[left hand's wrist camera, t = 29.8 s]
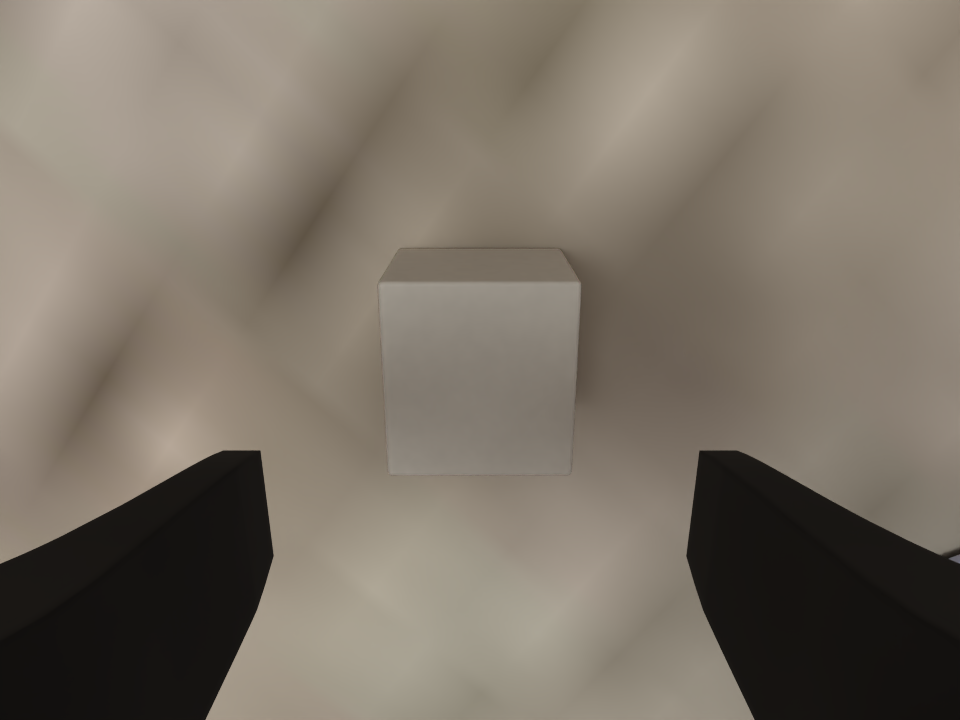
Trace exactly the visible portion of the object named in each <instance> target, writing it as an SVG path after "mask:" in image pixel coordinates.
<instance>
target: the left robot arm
mask: <svg viewBox="0 0 960 720" xmlns="http://www.w3.org/2000/svg"><path fill="white" fill-rule="evenodd" d="M272 560H273V548H272V540H271V532H270V524H269V516H268V508H267V500H266V492H265V484H264V476H263V468H262V460H261V452H260V451H221V452H219V453H216V454H214V455H212V456H210V457H207V458H206V459H204V460H202V461H200V462H198V463H196V464H194V465H192V466H190V467H189V468H187V469H185V470H183V471H181V472H180V473H178V474H176V475H174V476H173V477H171V478H169V479H167V480H166V481H164V482H162V483H160V484H158V485H157V486H155V487H153V488H151V489H150V490H148V491H146V492H144V493H142V494H141V495H139V496H137V497H135V498H134V499H132V500H130V501H128V502H126V503H125V504H123V505H121V506H119V507H117V508H115V509H113V510H111V511H109V512H107V513H106V514H104V515H102V516H100V517H98V518H96V519H94V520H92V521H90V522H88V523H86V524H84V525H82V526H80V527H78V528H77V529H75V530H73V531H71V532H69V533H67V534H65V535H63V536H61V537H59V538H57V539H55V540H53V541H51V542H49V543H46V544H44V545H42V546H40V547H38V548H36V549H33V550H31V551H29V552H27V553H25V554H22V555H20V556H18V557H15V558H13V559H11V560H8V561H6V562H4V563H1V564H0V720H205V719H206V717H207V715H208V713H209V711H210V709H211V707H212V705H213V703H214V700H215V698H216V696H217V694H218V692H219V690H220V688H221V686H222V684H223V682H224V679H225V677H226V675H227V673H228V671H229V669H230V667H231V665H232V663H233V661H234V658H235V656H236V654H237V652H238V650H239V648H240V646H241V643H242V641H243V639H244V637H245V635H246V633H247V631H248V628H249V626H250V624H251V622H252V620H253V617H254V615H255V613H256V611H257V608H258V605H259V602H260V599H261V596H262V593H263V590H264V587H265V583H266V580H267V577H268V573H269V570H270V566H271V563H272ZM687 560H688V563H689V566H690V570H691V573H692V577H693V580H694V583H695V587H696V590H697V593H698V596H699V599H700V602H701V605H702V608H703V611H704V613H705V615H706V617H707V620H708V622H709V624H710V626H711V628H712V631H713V633H714V635H715V637H716V639H717V641H718V643H719V646H720V648H721V650H722V652H723V654H724V656H725V658H726V661H727V663H728V665H729V667H730V669H731V671H732V673H733V675H734V677H735V679H736V682H737V684H738V686H739V688H740V690H741V692H742V694H743V696H744V698H745V700H746V703H747V705H748V707H749V709H750V711H751V713H752V715H753V717H754V719H755V720H960V554H959V555H956V556H954V557H951V558H945V557H943V556H941V555H938V554H936V553H934V552H932V551H929V550H927V549H925V548H923V547H921V546H918V545H916V544H914V543H912V542H910V541H908V540H906V539H904V538H902V537H900V536H898V535H896V534H894V533H892V532H890V531H888V530H886V529H884V528H882V527H880V526H878V525H876V524H874V523H872V522H870V521H868V520H866V519H864V518H862V517H860V516H858V515H856V514H854V513H853V512H851V511H849V510H847V509H845V508H843V507H841V506H840V505H838V504H836V503H834V502H832V501H830V500H829V499H827V498H825V497H823V496H822V495H820V494H818V493H816V492H814V491H813V490H811V489H809V488H807V487H806V486H804V485H802V484H800V483H798V482H797V481H795V480H793V479H791V478H790V477H788V476H786V475H784V474H783V473H781V472H779V471H777V470H775V469H774V468H772V467H770V466H768V465H766V464H764V463H763V462H761V461H759V460H757V459H755V458H753V457H751V456H749V455H747V454H744V453H742V452H739V451H700V452H699V460H698V468H697V476H696V484H695V492H694V500H693V508H692V516H691V524H690V532H689V540H688V548H687Z"/></svg>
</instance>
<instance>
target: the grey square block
mask: <svg viewBox="0 0 960 720" xmlns="http://www.w3.org/2000/svg"><path fill="white" fill-rule="evenodd" d="M378 302H379V320H380V339H381V357H382V376H383V394H384V413H385V431H386V450H387V468H388V473H389V475H570V474H571V472H572V457H573V438H574V419H575V400H576V381H577V362H578V343H579V323H580V304H581V282H580V281H579V279H578V277H577V276H576V274H575V272H574V271H573V269H572V267H571V266H570V264H569V262H568V261H567V259H566V257H565V256H564V254H563V252H562V251H561V249H558V248H494V249H399V250H398V251H397V253H396V255H395V256H394V258H393V260H392V261H391V263H390V264H389V266H388V268H387V269H386V271H385V273H384V274H383V276H382V278H381V279H380V281H379V283H378Z"/></svg>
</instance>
